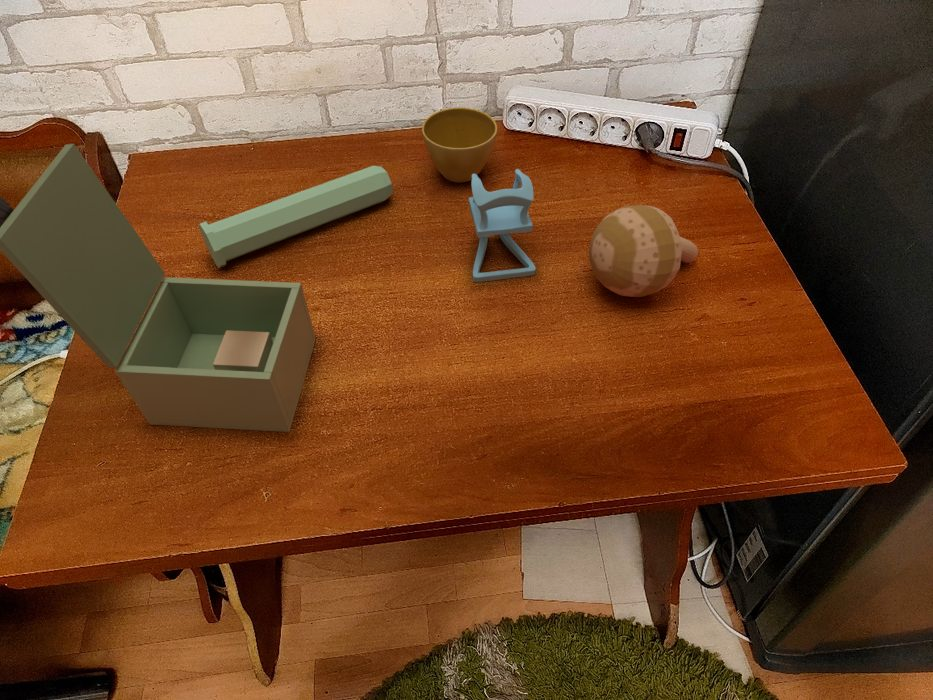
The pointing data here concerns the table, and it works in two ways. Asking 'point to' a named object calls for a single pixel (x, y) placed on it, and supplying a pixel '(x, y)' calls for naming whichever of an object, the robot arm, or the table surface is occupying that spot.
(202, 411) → the chest
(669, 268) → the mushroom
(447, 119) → the flower pot
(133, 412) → the table surface
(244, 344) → the block
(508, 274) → the chair
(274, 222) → the green rod
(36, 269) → the lid
